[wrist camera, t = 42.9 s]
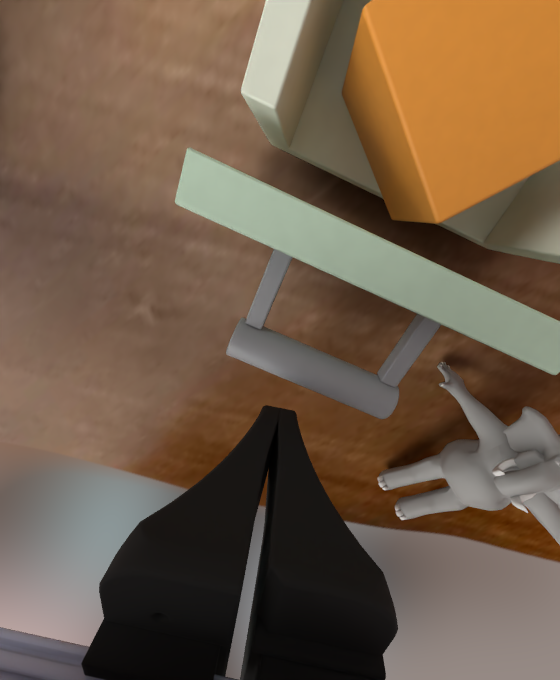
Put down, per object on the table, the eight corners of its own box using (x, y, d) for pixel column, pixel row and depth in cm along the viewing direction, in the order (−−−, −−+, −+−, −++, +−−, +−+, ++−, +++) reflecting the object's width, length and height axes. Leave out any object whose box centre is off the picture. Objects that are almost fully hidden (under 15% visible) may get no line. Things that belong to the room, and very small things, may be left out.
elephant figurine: (319, 425, 17) (465, 341, 10) (376, 401, 20) (507, 329, 14) (422, 634, 13) (740, 695, 7) (468, 557, 17) (698, 551, 11)
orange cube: (391, 221, 10) (437, 225, 6) (340, 92, 9) (361, 6, 5) (523, 148, 9) (672, 102, 5) (486, -13, 8) (647, -221, 4)
